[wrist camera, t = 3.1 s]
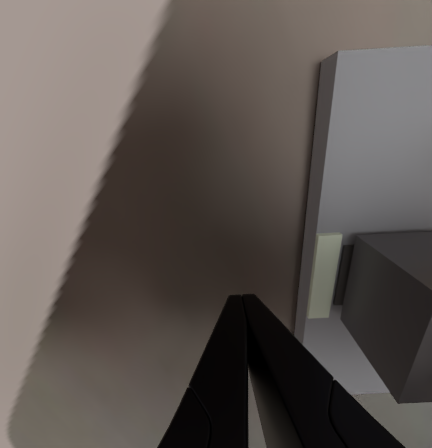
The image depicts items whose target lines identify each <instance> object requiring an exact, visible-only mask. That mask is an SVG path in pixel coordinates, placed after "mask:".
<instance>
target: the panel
mask: <svg viewBox="0 0 432 448" xmlns="http://www.w3.org/2000/svg"><path fill="white" fill-rule="evenodd" d="M426 231H432V45H425V46H409V47H393V48H376V49H360V50H344V51H337V52H336V53H334V54H333V55H331V56H329V57H328V58H326V59H325V60H323V61H322V62H321V69H320V79H319V90H318V100H317V110H316V120H315V130H314V140H313V150H312V160H311V170H310V180H309V190H308V200H307V211H306V221H305V231H304V241H303V251H302V261H301V271H300V281H299V291H298V301H297V311H296V321H295V332H294V336H295V337H296V338H297V339H298V340H299V341H300V342H301V343H302V345H303V346H304V347H305V348H306V349H307V350H308V351H309V352H310V353H311V354H312V355H313V356H314V357H315V358H316V359H317V360H318V361H319V362H320V363H321V364H322V366H323V367H324V368H325V369H326V370H327V371H328V372H329V373H330V374H331V375H332V376H333V377H334V380H337V381H338V382H339V383H340V384H341V385H342V386H343V387H344V388H345V390H346V391H347V392H348V393H349V394H350V395H353V394H372V393H390V391H389V390H388V389H387V387H386V386H385V384H384V383H383V381H382V380H381V378H380V377H379V375H378V374H377V372H376V371H375V369H374V368H373V366H372V365H371V364H370V362H369V361H368V359H367V358H366V356H365V355H364V353H363V352H362V350H361V349H360V347H359V346H358V344H357V343H356V342H355V340H354V339H353V337H352V336H351V334H350V333H349V331H348V330H347V328H346V327H345V325H344V324H343V322H342V321H341V320H340V317H341V312H342V307H343V301H344V296H345V291H346V286H347V281H348V276H349V270H350V265H351V260H352V255H353V250H354V245H355V240H356V235H373V234H390V233H408V232H426ZM334 380H333V381H334Z"/></svg>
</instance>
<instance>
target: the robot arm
mask: <svg viewBox="0 0 432 448" xmlns="http://www.w3.org/2000/svg"><path fill="white" fill-rule="evenodd" d="M248 369H249V374H250V378H251V383H252V387H253V391H254V396H255V400H256V404H257V408H258V413H259V417H260V421H261V425H262V430H263V434H264V438H265V442H266V447H267V448H405V447H404V446H403V445H402V444H401V443H400V442H399V441H398V440H397V439H396V438H395V437H394V436H392V435H391V434H390V433H389V432H388V431H387V430H386V429H385V428H384V427H383V426H382V425H381V424H380V423H379V422H377V421H376V420H375V419H374V418H373V417H372V416H371V415H370V414H369V413H368V412H367V411H366V410H365V409H364V408H363V407H362V406H361V405H360V404H359V403H358V402H357V401H356V400H355V399H354V398H353V397H352V396H351V395H350V394H349V393H348V392H347V391H346V390H345V388H344V387H343V386H342V385H341V384H340V383H339V382H338V381H337V380H334V377H333V376H332V375H331V374H330V373H329V372H328V371H327V370H326V369H325V368H324V367H323V366H322V364H321V363H320V362H319V361H318V360H317V359H316V358H315V357H314V356H313V355H312V354H311V353H310V352H309V351H308V350H307V349H306V348H305V347H304V346H303V345H302V343H301V342H300V341H299V340H298V339H297V338H296V337H295V336H294V335H293V334H292V333H291V332H290V331H289V330H288V329H287V328H286V327H285V326H284V325H283V323H282V322H281V321H280V320H279V319H278V318H277V317H276V316H275V315H274V314H273V313H272V312H271V311H270V310H269V309H268V308H267V307H266V306H265V305H264V304H263V302H262V301H261V300H260V299H259V298H258V297H257V296H256V295H255V294H243V295H242V296H241V295H229V296H228V298H227V301H226V303H225V305H224V307H223V309H222V312H221V314H220V316H219V318H218V321H217V323H216V325H215V327H214V330H213V332H212V334H211V336H210V338H209V341H208V343H207V345H206V347H205V350H204V352H203V354H202V356H201V358H200V361H199V363H198V365H197V367H196V370H195V372H194V374H193V376H192V378H191V381H190V383H189V387H188V388H187V389H186V391H185V394H184V396H183V398H182V400H181V402H180V405H179V407H178V409H177V411H176V413H175V415H174V417H173V419H172V421H171V423H170V425H169V427H168V429H167V431H166V433H165V435H164V436H163V438H162V440H161V442H160V444H159V445H158V447H157V448H248ZM333 380H334V381H333Z"/></svg>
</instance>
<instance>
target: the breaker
mask: <svg viewBox="0 0 432 448" xmlns="http://www.w3.org/2000/svg"><path fill="white" fill-rule="evenodd" d="M340 320H341V321H342V322H343V324H344V325H345V327H346V328H347V330H348V331H349V333H350V334H351V336H352V337H353V339H354V340H355V342H356V343H357V344H358V346H359V347H360V349H361V350H362V352H363V353H364V355H365V356H366V358H367V359H368V361H369V362H370V364H371V365H372V366H373V368H374V369H375V371H376V372H377V374H378V375H379V377H380V378H381V380H382V381H383V383H384V384H385V386H386V387H387V389H388V390H389V391H390V393H391V394H392V396H393V397H394V399H395V400H396V402H397V403H398V404H400V403H419V402H432V231H426V232H408V233H390V234H373V235H356V240H355V245H354V250H353V255H352V260H351V265H350V270H349V276H348V281H347V286H346V291H345V296H344V301H343V307H342V312H341V317H340Z"/></svg>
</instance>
